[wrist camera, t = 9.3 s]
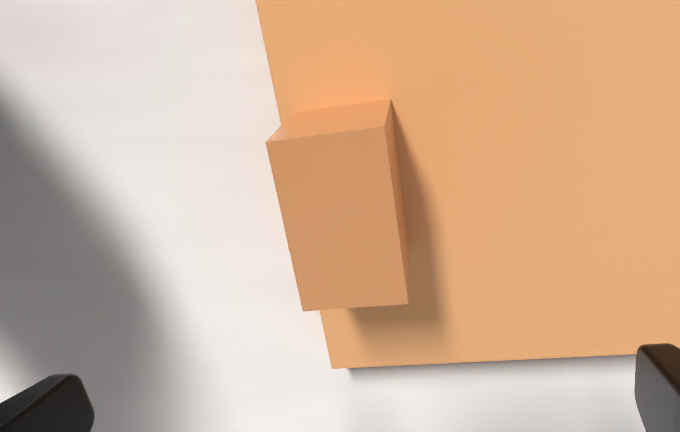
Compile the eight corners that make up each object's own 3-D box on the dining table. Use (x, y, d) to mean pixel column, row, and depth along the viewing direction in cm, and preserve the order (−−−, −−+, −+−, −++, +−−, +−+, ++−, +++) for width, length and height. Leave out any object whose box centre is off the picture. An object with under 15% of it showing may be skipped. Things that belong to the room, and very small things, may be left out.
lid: (338, 340, 22) (316, 439, 17) (261, -51, 17) (197, -67, 12) (734, 317, 19) (840, 427, 15) (795, -159, 14) (994, -234, 9)
